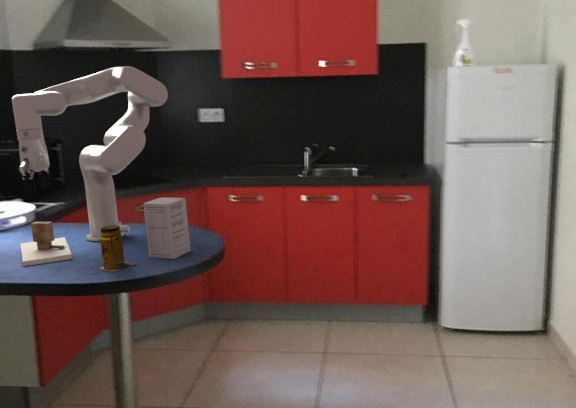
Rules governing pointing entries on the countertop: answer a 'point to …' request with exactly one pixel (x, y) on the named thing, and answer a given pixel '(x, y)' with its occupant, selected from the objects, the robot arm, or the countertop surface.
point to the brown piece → (43, 235)
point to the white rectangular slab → (45, 252)
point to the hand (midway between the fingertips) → (38, 188)
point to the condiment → (112, 249)
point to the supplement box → (167, 227)
